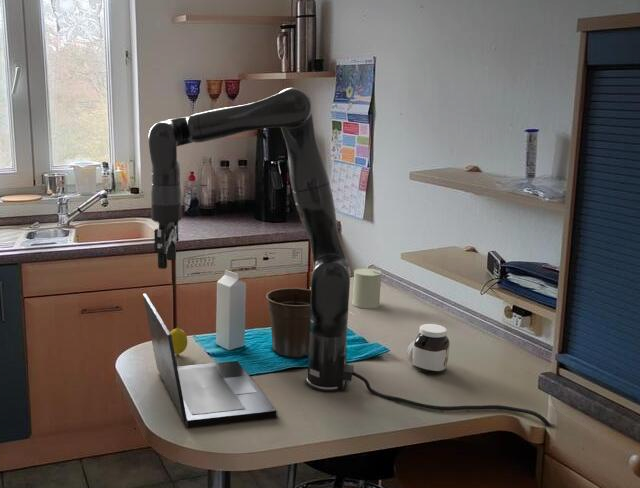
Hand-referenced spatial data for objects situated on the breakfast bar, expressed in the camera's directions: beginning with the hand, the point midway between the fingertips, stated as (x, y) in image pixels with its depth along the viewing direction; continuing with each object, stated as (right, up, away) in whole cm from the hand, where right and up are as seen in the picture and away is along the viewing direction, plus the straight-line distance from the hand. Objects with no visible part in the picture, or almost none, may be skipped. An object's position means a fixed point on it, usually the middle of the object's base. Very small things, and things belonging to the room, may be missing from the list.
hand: (167, 264), depth 188 cm
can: (+65, -16, +63) cm, 92 cm away
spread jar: (+69, -28, +11) cm, 76 cm away
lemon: (+2, -26, +18) cm, 32 cm away
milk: (+17, -25, +25) cm, 39 cm away
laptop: (+12, -32, -7) cm, 35 cm away
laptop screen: (0, -21, -13) cm, 24 cm away
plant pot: (+35, -26, +22) cm, 48 cm away
